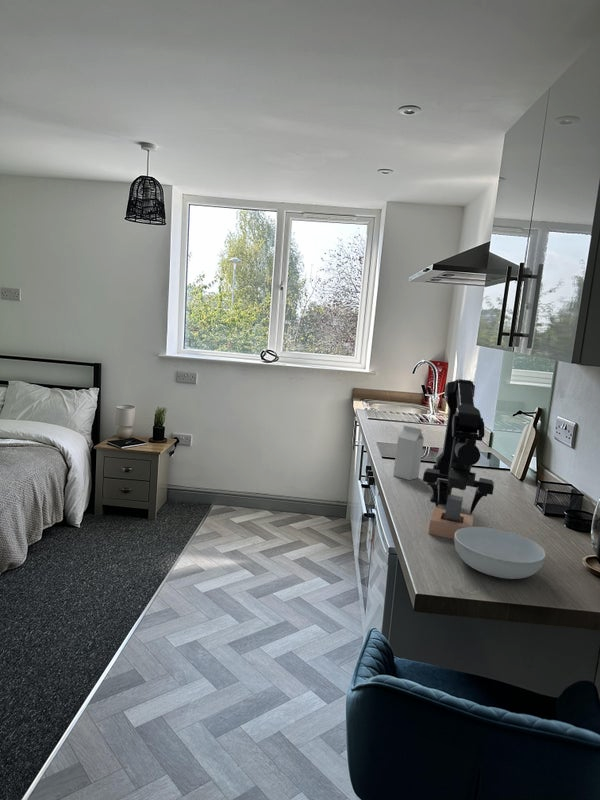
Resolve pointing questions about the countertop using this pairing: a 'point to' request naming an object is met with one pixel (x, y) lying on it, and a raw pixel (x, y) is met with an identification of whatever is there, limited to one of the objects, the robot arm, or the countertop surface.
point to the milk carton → (408, 453)
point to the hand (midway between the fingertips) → (453, 510)
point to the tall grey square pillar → (453, 508)
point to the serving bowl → (499, 552)
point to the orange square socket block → (447, 524)
